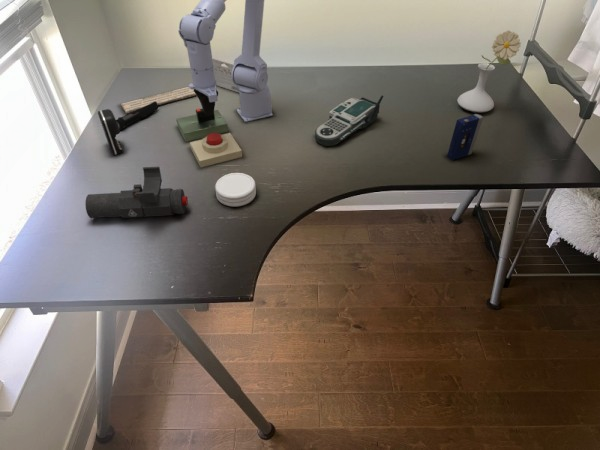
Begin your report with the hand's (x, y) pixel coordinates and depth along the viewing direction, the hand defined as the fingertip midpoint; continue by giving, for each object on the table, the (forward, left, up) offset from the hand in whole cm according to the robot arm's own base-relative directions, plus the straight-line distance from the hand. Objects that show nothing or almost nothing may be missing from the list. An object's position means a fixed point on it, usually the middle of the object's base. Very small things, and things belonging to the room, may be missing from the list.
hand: (209, 114), depth 122 cm
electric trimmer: (+17, -25, -11) cm, 32 cm away
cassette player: (-62, +33, -11) cm, 71 cm away
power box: (0, +3, -10) cm, 11 cm away
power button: (0, +3, -7) cm, 8 cm away
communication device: (-39, +7, -11) cm, 41 cm away
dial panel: (0, -10, -10) cm, 14 cm away
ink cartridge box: (-16, -33, -11) cm, 38 cm away
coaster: (+1, +23, -11) cm, 26 cm away
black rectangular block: (-1, -10, -7) cm, 12 cm away
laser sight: (+25, +20, -11) cm, 34 cm away
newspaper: (+8, -34, -11) cm, 36 cm away
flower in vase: (-85, +14, -11) cm, 86 cm away
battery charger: (+25, -11, -11) cm, 29 cm away
